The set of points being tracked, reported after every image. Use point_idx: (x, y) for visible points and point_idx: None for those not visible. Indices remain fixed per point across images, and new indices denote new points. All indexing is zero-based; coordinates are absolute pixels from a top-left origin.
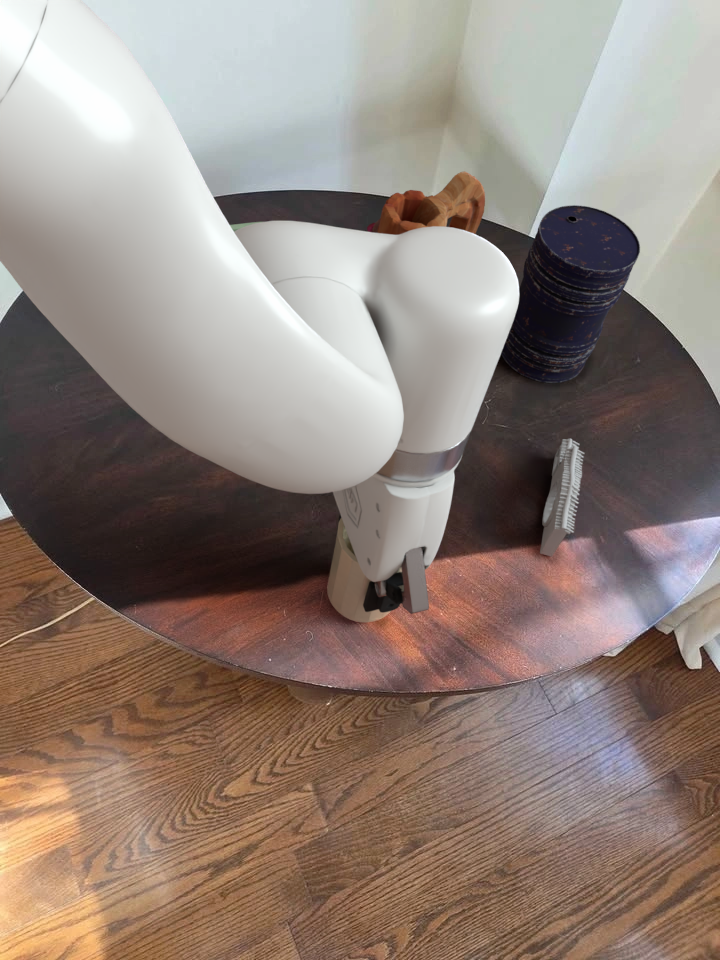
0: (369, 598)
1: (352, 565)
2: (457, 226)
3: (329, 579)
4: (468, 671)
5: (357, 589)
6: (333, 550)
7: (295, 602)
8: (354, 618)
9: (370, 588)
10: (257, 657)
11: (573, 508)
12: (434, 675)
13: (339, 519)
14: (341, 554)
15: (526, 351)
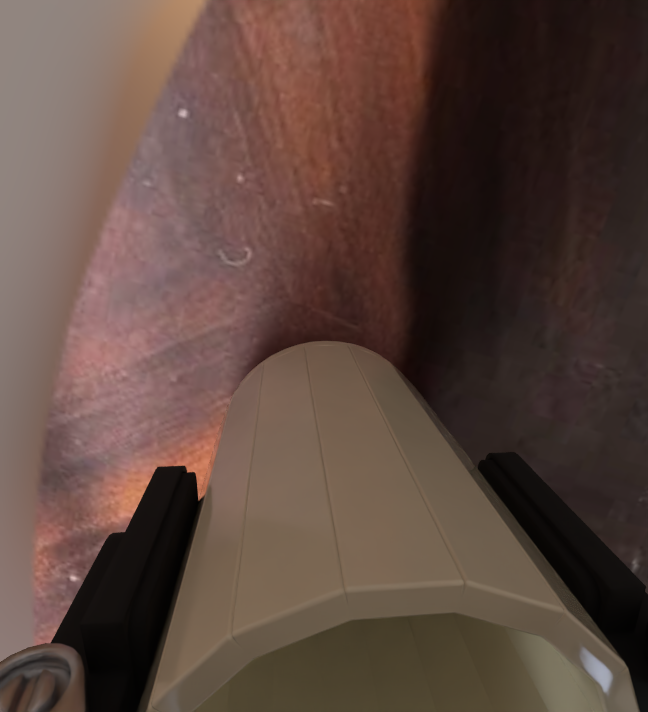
0: (125, 540)
1: (231, 585)
2: None
3: (354, 365)
4: (61, 604)
5: (218, 483)
6: (431, 432)
7: (346, 243)
8: (232, 395)
9: (98, 609)
10: (198, 73)
11: None
12: (62, 532)
13: (563, 508)
14: (331, 538)
15: None
